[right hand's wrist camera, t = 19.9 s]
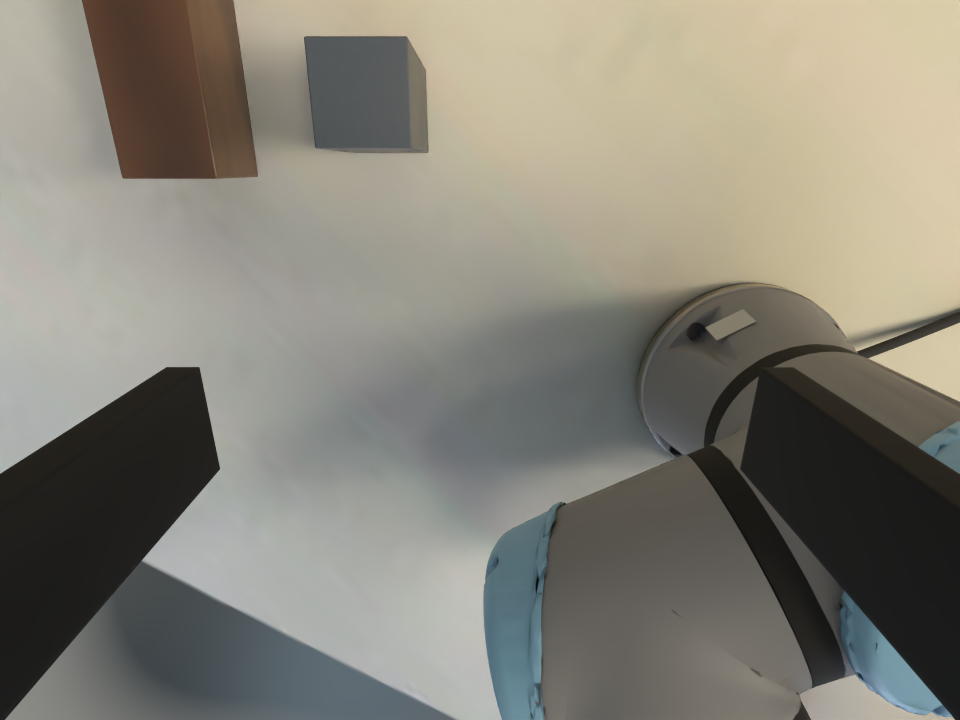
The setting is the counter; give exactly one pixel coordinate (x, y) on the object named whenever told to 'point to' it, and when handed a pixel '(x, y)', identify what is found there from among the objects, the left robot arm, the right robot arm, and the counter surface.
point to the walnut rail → (173, 87)
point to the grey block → (367, 94)
